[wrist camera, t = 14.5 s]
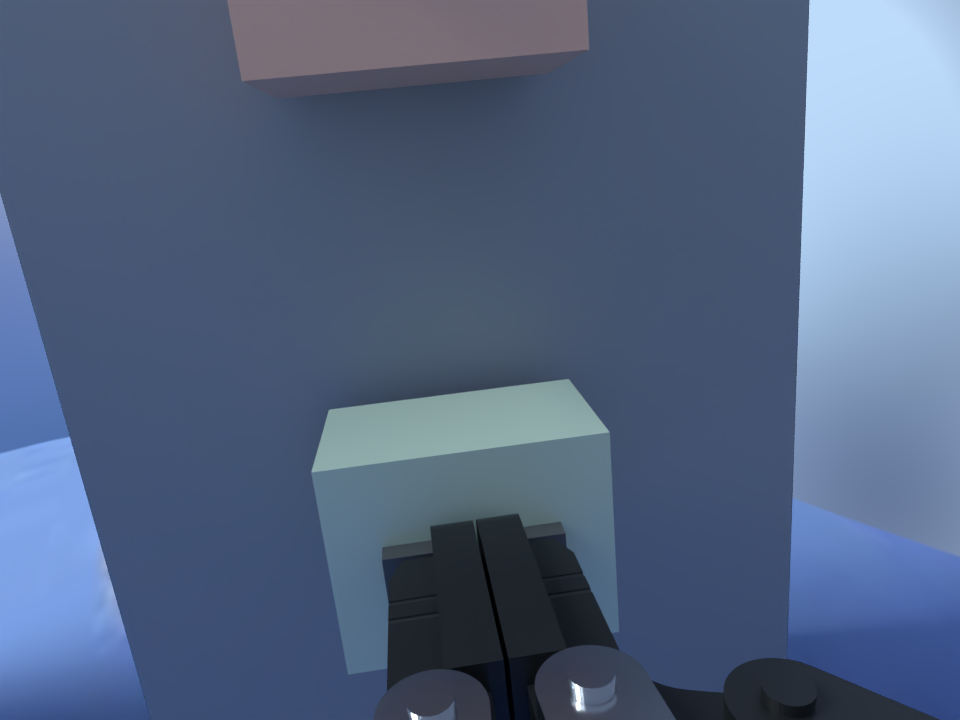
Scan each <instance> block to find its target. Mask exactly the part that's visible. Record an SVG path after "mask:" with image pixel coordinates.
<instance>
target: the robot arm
mask: <svg viewBox="0 0 960 720" xmlns="http://www.w3.org/2000/svg"><path fill="white" fill-rule="evenodd" d="M430 530H431V540H432V550H433V556H431V557H424V558H418V559H411V560H404V561H402V562H401V563H400V565H399V566H398V568H397V569H396V571H395V572H394V574H393V575H392V577H391V578H390V580H389V600H388V602H389V606H388V622H389V624H388V657H387V692H386V693H385V694H384V695H383V697H382V698H381V699H380V701H379V703H378V705H377V707H376V709H375V713H374V717H373V720H939V719H936V718H934V717H932V716H929V715H927V714H925V713H922V712H920V711H917V710H915V709H913V708H910V707H908V706H905V705H903V704H901V703H898V702H896V701H894V700H891V699H889V698H886V697H884V696H882V695H879V694H877V693H874V692H872V691H870V690H867V689H865V688H863V687H860V686H858V685H855V684H853V683H851V682H848V681H846V680H843V679H841V678H839V677H836V676H834V675H832V674H829V673H827V672H824V671H822V670H820V669H817V668H815V667H812V666H810V665H807V664H804V663H801V662H797V661H793V660H788V659H781V658H762V659H756V660H751V661H748V662H745V663H743V664H741V665H739V666H738V667H736V668H735V669H734V670H732V671H731V672H730V673H729V675H728V676H727V678H726V680H725V683H724V690H723V693H720V692H708V691H697V690H686V689H679V688H674V687H669V686H665V685H663V684H660V683H657V682H654V681H652V680H651V679H650V677H649V675H648V674H647V672H646V671H645V669H644V668H643V667H642V665H641V664H640V663H639V662H638V661H636V660H635V659H634V658H633V657H631V656H630V655H628V654H626V653H624V652H622V651H620V650H619V648H618V646H617V644H616V641H615V639H614V637H613V635H612V633H611V631H610V629H609V626H608V624H607V622H606V620H605V618H604V616H603V614H602V611H601V609H600V607H599V605H598V603H597V601H596V599H595V597H594V594H593V592H591V589H590V586H589V584H588V582H587V579H586V577H585V575H583V571H582V569H581V567H580V564H579V562H578V560H577V558H576V556H575V554H574V552H572V551H571V550H570V549H568V548H567V547H566V546H564V545H563V544H561V543H560V542H559V541H557V540H556V539H555V538H551V539H544V540H537V541H531V542H529V541H528V538H527V535H526V533H525V530H524V527H523V524H522V521H521V519H520V516H519V514H518V513H517V514H510V515H503V516H496V517H489V518H483V519H476V531H477V537H476V533H475V528H474V524H473V520H470V521H463V522H456V523H449V524H442V525H435V526H430ZM477 540H478V542H477Z"/></svg>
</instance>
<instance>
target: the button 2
mask: <svg viewBox="0 0 960 720" xmlns="http://www.w3.org/2000/svg"><path fill="white" fill-rule="evenodd" d="M311 474H312V479H313V485H314V490H315V496H316V501H317V507H318V512H319V518H320V523H321V529H322V534H323V540H324V545H325V551H326V556H327V562H328V567H329V573H330V578H331V584H332V589H333V595H334V600H335V606H336V611H337V617H338V622H339V628H340V633H341V639H342V644H343V650H344V655H345V661H346V666H347V672H348V675H349V674H356V673H362V672H368V671H375V670H381V669H387V657H388V624H389V622H388V606H389V602H388V600H389V580H390V578H391V577H392V575H393V574H394V572H395V571H396V569H397V568H398V566H399V565H400V563H401V562H402V561H404V560H411V559H418V558H424V557H431V556H433V550H432V540H431V530H430V526H435V525H442V524H449V523H456V522H463V521H470V520H473V524H474V528H475V533H476V537H477V531H476V519H483V518H489V517H496V516H503V515H510V514H517V513H518V514H519V516H520V519H521V521H522V524H523V527H524V530H525V533H526V535H527V538H528V541H529V542H531V541H537V540H544V539H551V538H555V539H556V540H557V541H559V542H560V543H561V544H563V545H564V546H566V547H567V548H568V549H570V550H571V551H572V552H574V554H575V556H576V558H577V560H578V562H579V564H580V567H581V569H582V571H583V575H585V577H586V579H587V582H588V584H589V586H590V589H591V592H593V594H594V597H595V599H596V601H597V603H598V605H599V607H600V609H601V611H602V614H603V616H604V618H605V620H606V622H607V624H608V626H609V629H610V631H611V633H615V632H619V618H618V597H617V576H616V554H615V533H614V512H613V491H612V470H611V449H610V432H609V431H608V429H607V428H606V427H605V425H604V424H603V423H602V422H601V420H600V419H599V418H598V416H597V415H596V414H595V412H594V411H593V410H592V409H591V407H590V406H589V405H588V403H587V402H586V401H585V399H584V398H583V397H582V396H581V394H580V393H579V392H578V390H577V389H576V388H575V386H574V385H573V384H572V383H571V381H570V380H569V379H564V380H556V381H548V382H541V383H533V384H525V385H517V386H509V387H502V388H494V389H486V390H478V391H470V392H463V393H455V394H447V395H439V396H431V397H424V398H416V399H408V400H400V401H392V402H385V403H377V404H369V405H361V406H353V407H346V408H338V409H330V410H329V411H328V415H327V418H326V422H325V425H324V429H323V433H322V436H321V440H320V443H319V447H318V450H317V454H316V457H315V461H314V464H313V468H312V472H311ZM477 542H478V540H477Z"/></svg>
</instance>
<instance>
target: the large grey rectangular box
mask: <svg viewBox="0 0 960 720" xmlns="http://www.w3.org/2000/svg"><path fill="white" fill-rule="evenodd" d="M587 12H588V32H589V50H588V51H586V52H584V53H583V54H581V55H579V56H577V57H576V58H574V59H572V60H570V61H569V62H567V63H565V64H563V65H562V66H560V67H558V68H557V69H555V70H553V71H551V72H550V73H548V74H537V75H527V76H516V77H505V78H494V79H484V80H473V81H462V82H452V83H441V84H430V85H419V86H409V87H398V88H387V89H376V90H366V91H355V92H344V93H334V94H323V95H312V96H301V97H291V98H280V99H277V98H275V97H273V96H271V95H269V94H267V93H265V92H263V91H261V90H259V89H257V88H255V87H253V86H251V85H249V84H247V83H244V82H242V80H241V74H240V69H239V63H238V57H237V52H236V46H235V41H234V35H233V30H232V24H231V19H230V13H229V8H228V2H227V0H0V193H1V197H2V200H3V204H4V207H5V211H6V214H7V218H8V221H9V225H10V228H11V232H12V235H13V239H14V242H15V246H16V249H17V253H18V256H19V260H20V263H21V267H22V270H23V273H24V277H25V281H26V284H27V288H28V291H29V295H30V298H31V302H32V305H33V309H34V312H35V316H36V319H37V323H38V327H39V330H40V333H41V337H42V341H43V344H44V348H45V351H46V355H47V358H48V361H49V365H50V368H51V372H52V375H53V379H54V382H55V386H56V390H57V393H58V397H59V400H60V404H61V407H62V411H63V414H64V417H65V421H66V425H67V428H68V432H69V435H70V439H71V442H72V446H73V449H74V453H75V456H76V460H77V463H78V467H79V470H80V474H81V477H82V481H83V484H84V488H85V491H86V495H87V498H88V502H89V505H90V509H91V512H92V516H93V519H94V523H95V526H96V530H97V533H98V537H99V540H100V544H101V547H102V551H103V554H104V558H105V561H106V565H107V568H108V572H109V575H110V579H111V582H112V586H113V589H114V593H115V596H116V600H117V603H118V607H119V610H120V614H121V617H122V621H123V624H124V628H125V631H126V635H127V638H128V642H129V645H130V649H131V652H132V656H133V659H134V663H135V666H136V670H137V673H138V677H139V680H140V684H141V687H142V691H143V694H144V698H145V701H146V705H147V708H148V712H149V715H150V719H151V720H373V717H374V713H375V709H376V707H377V705H378V703H379V701H380V699H381V698H382V697H383V695H384V694H385V693H386V692H387V669H381V670H375V671H368V672H362V673H356V674H349V675H348V672H347V666H346V661H345V655H344V650H343V644H342V639H341V633H340V628H339V622H338V617H337V611H336V606H335V600H334V595H333V589H332V584H331V578H330V573H329V567H328V562H327V556H326V551H325V545H324V540H323V534H322V529H321V523H320V518H319V512H318V507H317V501H316V496H315V490H314V485H313V479H312V474H311V472H312V468H313V464H314V461H315V457H316V454H317V450H318V447H319V443H320V440H321V436H322V433H323V429H324V425H325V422H326V418H327V415H328V411H329V410H330V409H338V408H346V407H353V406H361V405H369V404H377V403H385V402H392V401H400V400H408V399H416V398H424V397H431V396H439V395H447V394H455V393H463V392H470V391H478V390H486V389H494V388H502V387H509V386H517V385H525V384H533V383H541V382H548V381H556V380H564V379H569V380H570V381H571V383H572V384H573V385H574V386H575V388H576V389H577V390H578V392H579V393H580V394H581V396H582V397H583V398H584V399H585V401H586V402H587V403H588V405H589V406H590V407H591V409H592V410H593V411H594V412H595V414H596V415H597V416H598V418H599V419H600V420H601V422H602V423H603V424H604V425H605V427H606V428H607V429H608V431H609V432H610V449H611V470H612V491H613V512H614V533H615V554H616V576H617V597H618V618H619V632H615V633H612V635H613V637H614V639H615V641H616V644H617V646H618V648H619V650H620V651H622V652H624V653H626V654H628V655H630V656H631V657H633V658H634V659H635V660H636V661H638V662H639V663H640V664H641V665H642V667H643V668H644V669H645V671H646V672H647V674H648V675H649V677H650V679H651V680H652V681H654V682H657V683H660V684H663V685H665V686H669V687H674V688H679V689H686V690H697V691H708V692H720V693H723V690H724V683H725V680H726V678H727V676H728V675H729V673H730V672H731V671H732V670H734V669H735V668H736V667H738V666H739V665H741V664H743V663H745V662H748V661H751V660H756V659H762V658H781V659H787V640H788V611H789V581H790V552H791V523H792V492H793V464H794V434H795V405H796V404H795V403H796V376H797V375H796V374H797V346H798V317H799V287H800V286H799V285H800V257H801V228H802V226H801V225H802V199H803V169H804V140H805V111H806V81H807V52H808V22H809V0H587Z"/></svg>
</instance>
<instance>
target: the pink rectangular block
mask: <svg viewBox="0 0 960 720" xmlns="http://www.w3.org/2000/svg"><path fill="white" fill-rule="evenodd" d="M227 2H228V8H229V13H230V19H231V24H232V30H233V35H234V41H235V46H236V52H237V57H238V63H239V69H240V74H241V80H242V82H244V83H247V84H249V85H251V86H253V87H255V88H257V89H259V90H261V91H263V92H265V93H267V94H269V95H271V96H273V97H275V98H277V99H280V98H291V97H301V96H312V95H323V94H334V93H344V92H355V91H366V90H376V89H387V88H398V87H409V86H419V85H430V84H441V83H452V82H462V81H473V80H484V79H494V78H505V77H516V76H527V75H537V74H548V73H550V72H551V71H553V70H555V69H557V68H558V67H560V66H562V65H563V64H565V63H567V62H569V61H570V60H572V59H574V58H576V57H577V56H579V55H581V54H583V53H584V52H586V51H588V50H589V32H588V12H587V0H227Z"/></svg>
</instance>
